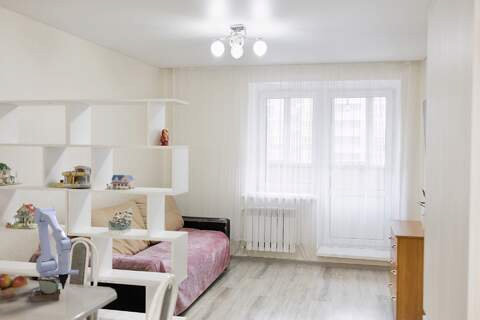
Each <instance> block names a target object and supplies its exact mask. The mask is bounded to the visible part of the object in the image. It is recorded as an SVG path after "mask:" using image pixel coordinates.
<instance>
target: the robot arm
mask: <svg viewBox="0 0 480 320" xmlns="http://www.w3.org/2000/svg"><path fill="white" fill-rule="evenodd" d="M57 213H58V212H57V209H56V208H55V206H52V207H37V208H36V209H35V211H34V221H35V225H37V228H38V237H39V246H40V247H39V248H40V256H39V257H37V259H36V260H35V269H36V272H37V273H38V274H39V277H42V276H58V277H59V279H60V284H61V289H62V290H65V286H66V283H67V281H68V278H69V276H70V275H71V276H72V275H79V269H70V262H71V260H70V259H71V257H70V255H71V250H72V248H73V241H72V239H71V238H69V237H68V236H67V235H66V233H65V231H64V229H63V228H61V227H60V224H59V221H58V220H57ZM49 226H50V229H51V230H52V233H51V235H52V237H53V239H54V240H55V249H56V253H57V257H56V255H54V254H52V251H51V250H52V249H51V240H50V239H51V238H50V233H49V232H50V231H49ZM37 290H40V288H39V287H38V289H37Z"/></svg>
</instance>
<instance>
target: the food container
mask: <svg viewBox="0 0 480 320" xmlns="http://www.w3.org/2000/svg"><path fill="white" fill-rule="evenodd" d="M37 282H38V288H40V295H39V296H43V295H59V294H58V289H59V284H61V282H60V279H59V275H54V276H42V277H40V276H39V277H38V278H37Z"/></svg>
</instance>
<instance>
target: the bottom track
mask: <svg viewBox="0 0 480 320" xmlns="http://www.w3.org/2000/svg"><path fill="white" fill-rule="evenodd" d="M60 295H61V288H58V295H43V296H40V290H38V289H36V288H34V289H33V290H32V292H31V297H30V302H31V303H36V302H38V303H39V302H50V301H51V302H52V301H53V302H54V301H60Z"/></svg>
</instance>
